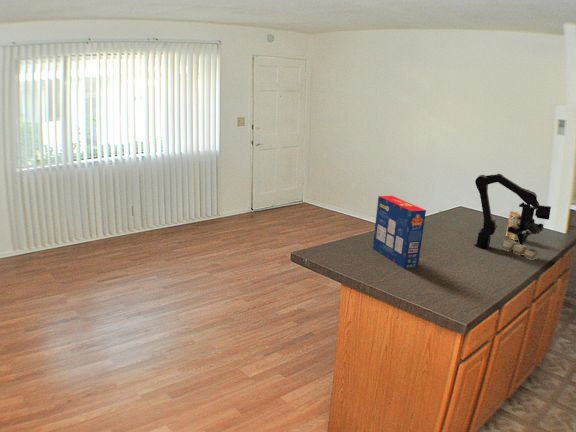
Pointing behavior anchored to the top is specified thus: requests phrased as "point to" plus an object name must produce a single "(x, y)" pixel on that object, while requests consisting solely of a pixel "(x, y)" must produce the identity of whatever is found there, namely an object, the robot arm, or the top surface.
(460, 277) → the top surface
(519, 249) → the plain block
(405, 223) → the blue toy box
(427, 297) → the top surface
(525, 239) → the robot arm
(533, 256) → the three mark block
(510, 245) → the two mark block
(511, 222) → the candy box
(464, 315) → the top surface
